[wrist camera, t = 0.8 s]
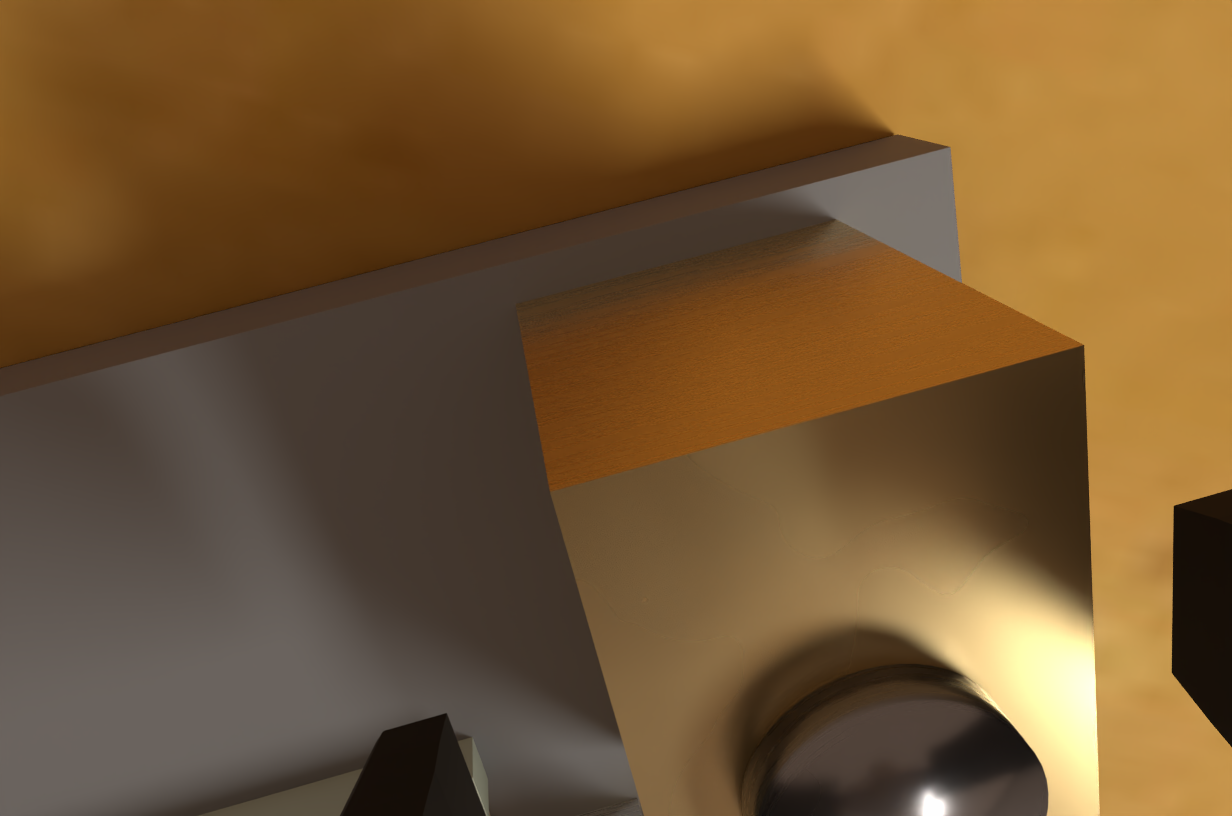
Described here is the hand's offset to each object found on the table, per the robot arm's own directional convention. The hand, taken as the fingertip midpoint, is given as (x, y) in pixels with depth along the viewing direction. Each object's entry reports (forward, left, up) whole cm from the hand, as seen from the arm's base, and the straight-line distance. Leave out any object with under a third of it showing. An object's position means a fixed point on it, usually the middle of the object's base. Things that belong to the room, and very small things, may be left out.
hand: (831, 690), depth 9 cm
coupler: (0, 0, -4) cm, 4 cm away
